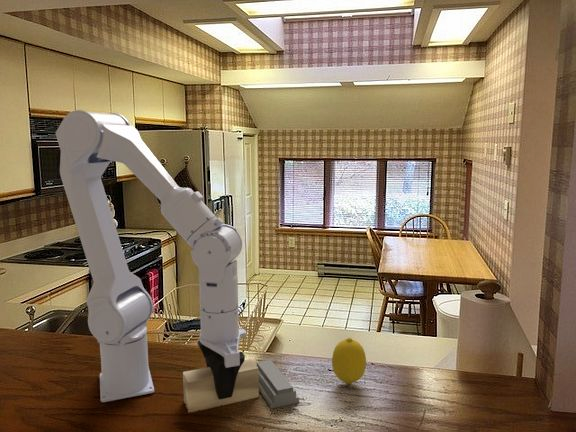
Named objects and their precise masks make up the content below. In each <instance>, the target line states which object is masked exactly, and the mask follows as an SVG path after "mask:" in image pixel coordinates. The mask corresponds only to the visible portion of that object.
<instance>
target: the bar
mask: <svg viewBox="0 0 576 432" xmlns="http://www.w3.org/2000/svg"><path fill="white" fill-rule="evenodd" d="M182 381H183V382H182V383H183V401H184V404H186V405H185V407H186V409H188V410H187V412H188V413H189V414H190V412H191V413H194V412H199V410H200V411H204V410H208V409H212V408H217V407H221V405H222V406H225V405H230V404H234V403H238V402H239V403H240V402H244V401H247V400H252V399H256V398H259V396H260V394H259V393H260V391H259V373H258V367H257V363H255V362H254V361H253V360H252V358H247V359H245V360H244V362H243V364H242V365H241V367H240V369H239V372H238V374H237V377H236V382H235V386H234V391H233V395H232V397H230V398H225V399H219V398H218V396H217V393H216V389H215V383H214V378H213V374H212V371H211V368H210V367H207V366H206V367H201V368H196V369H191V370H187V371H183V372H182Z"/></svg>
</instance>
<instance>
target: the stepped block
mask: <svg viewBox="0 0 576 432" xmlns="http://www.w3.org/2000/svg"><path fill="white" fill-rule="evenodd" d="M256 366H257V367H258V373H259V393H261V395H262V397H263V398H264V399H265V402H267V404H268V406H269V407H270V408H271V409H276V408H280V407H284V406H289V405H295V404H298V403H300V397H299V395H298V394H297V391H296V389H295V387H293V385H292V384H291V383H290V382H289V381H288V379H287V378H286V376H285V375H284V374H283V372H281V370H280V369H279V368H278V367H277V365H275V363H274V362H273V361H272V360H271V359H268V360H266V359H265V360H261V361H257V362H256Z"/></svg>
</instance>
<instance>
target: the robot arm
mask: <svg viewBox="0 0 576 432" xmlns="http://www.w3.org/2000/svg"><path fill="white" fill-rule="evenodd" d="M55 137H56V139H57V143H58V146H59V150H60V158H59V159H60V161H59V162H60V163H59V175H60V179H61V181H62V185H63V188H64V191H65V194H66V198H67V200H68V204H69V207H70V210H71V214H72V217H73V220H74V224H75V227H76V230H77V232H78V236H79V239H80V242H81V246H82V249H83V252H84V255H85V258H86V261H87V264H88V268H89V272H90V275H91V278H92V281H93V283H92V286H91V288H90V291H89V293H88V295H87V297H86V301H85V302H86V305H87V309H88V310H87V311H88V315H87V324H88V330H89V332H90V333H91V335H92V336H93V337H94V338H95V339H96V340H97V343H98V344H99V351H100V353H99V354H100V366H101V367H100V368H101V372H100V373H99V390H100V392H99V393H100V402H101V403H107V402H114V401H118V400H123V399H127V398H133V397H138V396H143V395H148V394H153V393H155V387H154V383H153V379H152V375H151V371H150V366H149V353H148V351H149V349H148V334H147V333H148V330H147V328H148V320H150V318H151V317H152V316H153V313H154V307H155V305H154V301H153V299H152V297H151V295H150V294H149V292H148V291H147V290H146V289H145V288H144V285H143V282H142V279H141V278H140V277H139V276H137V275H135V274H134V273H132V272H131V271H130V269H129V265H128V263H127V259H126V256H125V253H124V250H123V247H122V243H121V240H120V236H119V233H118V230H117V227H116V223H115V220H114V218H113V214H112V209H111V207H110V205H109V200H108V197H107V194H106V192H105V187H104V184H103V182H102V176H103V174H105V171H106V170H107V168H108V166H109V165H110V163H112V162H116V163H121V164H123V165H124V166H125V167H127V168H128V170H129V171H130V172H132V174H134V176H135V177H136V178H137V179H138V180H139V181H140V182H141V183H142V184H144V186H145V187H146V188H147V189H148V190H149V191H150V192H151V193H152V194H153V195H154V196H155V197H156V198H157V199H158V200H159V201H160V214H161V215H162V216H163V217H164V218H165V220H166V221H167V222H168V223H169V224H170V225H171V227H172V228H173V229H174V230H175V231H176V232H177V233H178V235H180V237H182V239H183V240H184V241H185V242H186V244H187V245H188V246H189V247H191V248H192V250H190V256H191V260H192V261H193V263H194V265H195V266H196V267H197V268H198V285H199V286H198V287H199V289H198V290H199V315H200V316H199V317H200V319H199V321H200V334H199V340H198V341H197V345H198V347H199V349H200V350H201V352H202V355H203V358H204V361H205V364H206V367H210V368H211V371H212V374H213V378H214V383H215V389H216V393H217V396H218V398H219V399H225V398H230V397H232V395H233V391H234V386H235V382H236V377H237V374H238V372H239V369H240V367H241V365H242V364H243V362H244V360H246V359H245V358H246V356H245V354H244V352H243V351H239V347H240V342H241V341H240V340H241V339H242V338H247V331H246V329H244V328H240V327H239V283H238V282H239V281H238V278H239V277H238V276H239V275H238V260H237V257H238V256H239V255H240V254H241V252H242V248H243V241H242V238H241V235H240V233H239V232H238V231H237V229H236V227H235V226H232V225H230V224H227V223H226V224H225V221H224V220H223V219H222V218H221V217H217V216H216V215H215V214H214V212H212V210H211V209H210V208H209V207H208V206H207V205H206V204H205V203H204V201H203V199H204V196H203V195H202V194H201V192H200V191H194V190H193V189H192V188H190V187H180V186H179V185H178V184H177V182H176V181H175V180H174V179H173V177H172V176H171V175H170V174H169V173H168V171H167V170H166V169H165V167H164V166H163V165H162V164H161V163H160V161H159V160H158V159H157V157H156V156H155V155H154V153H153V152H152V151H151V150H150V148H149V147H148V146H147V145H146V143H145V142H144V140H143V139H142V137H141V135H140V132H139V130H138V129H137V128H135V126H133V125H131V124H130V121H129V120H128V119H127V118H126V117H125V116H124V115H122V114H120V113H116V112H109V113H105V112H95V111H93V112H92V111H87V110H82V109H76V110H72V111H70V112H68V113H67V114H66V115H65V116H64V118H63V119H62V121H61V122H60V124H59V127H57V130H56V131H55Z"/></svg>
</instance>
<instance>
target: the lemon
mask: <svg viewBox="0 0 576 432" xmlns="http://www.w3.org/2000/svg"><path fill="white" fill-rule="evenodd" d="M365 352H366V351H365V350H364V348H363V346H362V345H361V343H360V342H359V341H357V340H355V339H352V338H351V337H347V338H346V339H343V340H340V341H339V342H338V343H337V344H335V347H334V349H333V352H332V357H331V366H332V369H333V373H334V375H335V376H336V377H337V379H338V380H340V381H341V382H343V383H345V384H346V385H349V386H350V385H351V384H353V383H356V382H357V381H359V380H361V378H362V377H363V376H364V374H365V371H366V367H367V357H366V353H365Z"/></svg>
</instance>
